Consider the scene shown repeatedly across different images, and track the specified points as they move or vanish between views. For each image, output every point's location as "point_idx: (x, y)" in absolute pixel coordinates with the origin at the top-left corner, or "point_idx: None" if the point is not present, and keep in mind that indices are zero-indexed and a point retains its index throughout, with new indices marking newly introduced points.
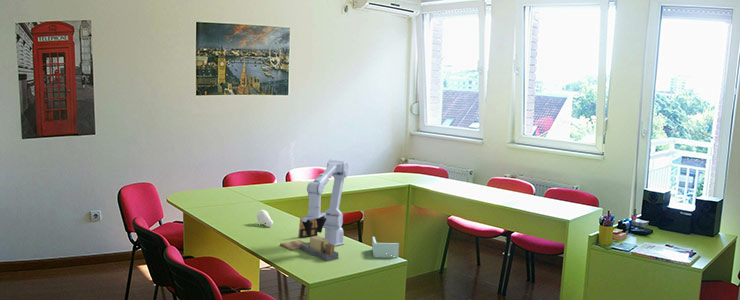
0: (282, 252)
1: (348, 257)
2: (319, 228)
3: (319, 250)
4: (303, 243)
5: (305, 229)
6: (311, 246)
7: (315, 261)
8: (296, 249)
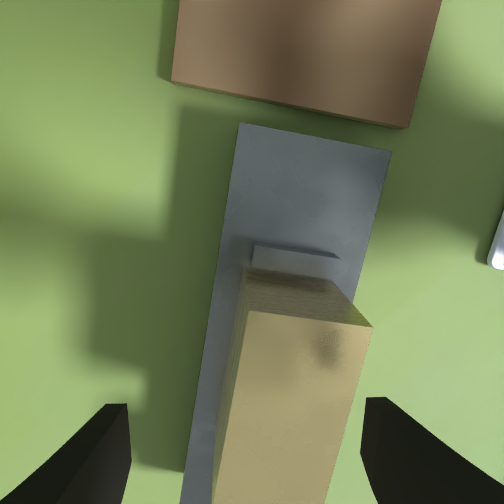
0: (56, 56)
1: (358, 501)
2: (395, 489)
3: (218, 412)
4: (397, 20)
5: (31, 481)
6: (238, 301)
7: None
8: (225, 93)
